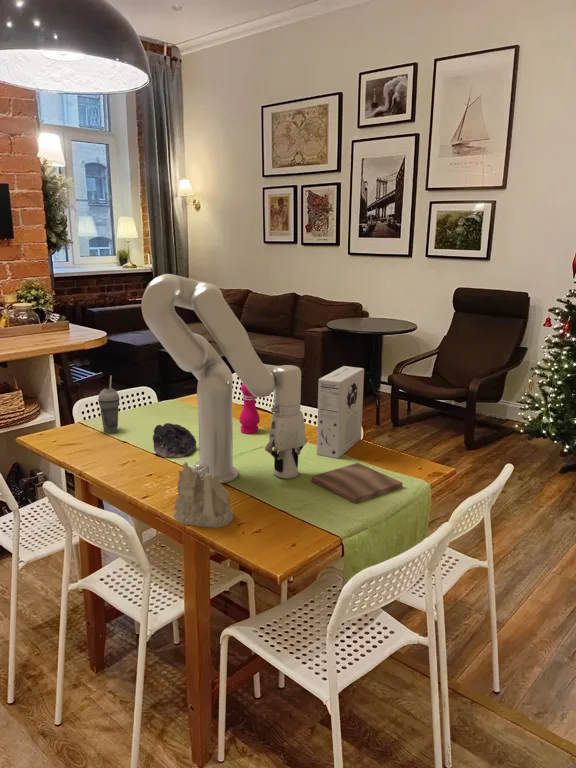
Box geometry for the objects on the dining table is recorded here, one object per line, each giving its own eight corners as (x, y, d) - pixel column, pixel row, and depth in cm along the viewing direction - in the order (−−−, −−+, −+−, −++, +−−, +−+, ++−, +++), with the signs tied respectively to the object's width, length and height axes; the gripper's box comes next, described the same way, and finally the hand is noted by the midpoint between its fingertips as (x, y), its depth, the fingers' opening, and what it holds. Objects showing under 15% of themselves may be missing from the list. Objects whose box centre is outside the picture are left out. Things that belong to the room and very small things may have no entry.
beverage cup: (102, 428, 213) (98, 373, 208) (123, 427, 214) (120, 373, 209) (98, 434, 206) (94, 378, 201) (119, 434, 207) (116, 378, 202)
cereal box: (340, 435, 209) (343, 365, 203) (361, 438, 206) (364, 368, 200) (316, 454, 190) (318, 378, 184) (338, 458, 187) (341, 381, 181)
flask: (288, 481, 169) (289, 448, 167) (268, 475, 174) (269, 442, 171) (303, 473, 175) (304, 441, 173) (283, 467, 179) (284, 436, 177)
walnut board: (355, 503, 156) (355, 498, 156) (311, 481, 170) (311, 476, 170) (402, 487, 167) (402, 482, 166) (357, 467, 180) (357, 462, 180)
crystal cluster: (204, 453, 193) (204, 422, 192) (172, 461, 182) (171, 429, 181) (177, 446, 201) (176, 417, 200) (144, 454, 191) (144, 423, 189)
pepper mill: (259, 434, 208) (259, 379, 204) (238, 434, 209) (238, 378, 204) (260, 428, 216) (260, 374, 211) (240, 427, 216) (240, 374, 211)
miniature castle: (220, 531, 140) (219, 470, 138) (161, 521, 146) (158, 462, 144) (248, 508, 155) (248, 452, 152) (193, 499, 161) (192, 445, 158)
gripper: (270, 417, 162) (270, 479, 166) (318, 407, 172) (316, 466, 176) (255, 410, 167) (254, 471, 172) (302, 401, 177) (301, 459, 182)
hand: (286, 468), depth 174 cm, fingers closed on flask, 4 cm apart
